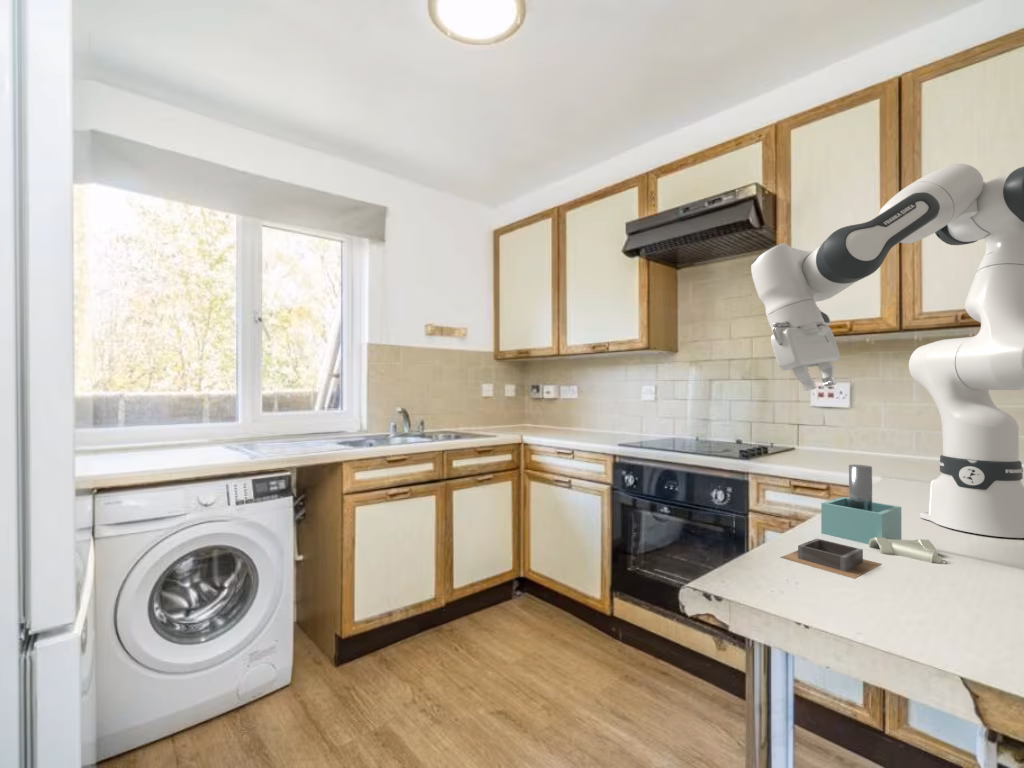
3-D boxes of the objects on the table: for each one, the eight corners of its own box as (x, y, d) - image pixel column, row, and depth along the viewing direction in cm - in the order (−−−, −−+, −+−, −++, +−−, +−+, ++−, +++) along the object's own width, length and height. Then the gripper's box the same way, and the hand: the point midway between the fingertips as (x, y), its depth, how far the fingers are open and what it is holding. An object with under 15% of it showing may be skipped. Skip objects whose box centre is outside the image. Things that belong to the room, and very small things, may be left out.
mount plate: (809, 554, 80) (810, 533, 80) (881, 573, 72) (881, 550, 72) (780, 566, 75) (780, 544, 75) (854, 589, 66) (854, 564, 66)
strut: (852, 532, 89) (852, 463, 89) (879, 538, 86) (878, 466, 86) (842, 536, 87) (842, 465, 87) (869, 543, 83) (869, 469, 83)
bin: (842, 533, 93) (842, 496, 93) (901, 546, 85) (901, 506, 85) (821, 541, 87) (821, 503, 88) (881, 556, 80) (881, 514, 80)
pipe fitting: (952, 577, 73) (921, 558, 79) (953, 552, 72) (922, 535, 79) (893, 574, 74) (868, 556, 80) (895, 549, 73) (869, 533, 80)
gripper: (787, 315, 87) (815, 387, 84) (832, 316, 99) (858, 378, 97) (754, 329, 92) (780, 397, 89) (801, 328, 104) (825, 388, 101)
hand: (821, 387), depth 93 cm, fingers open, 8 cm apart
